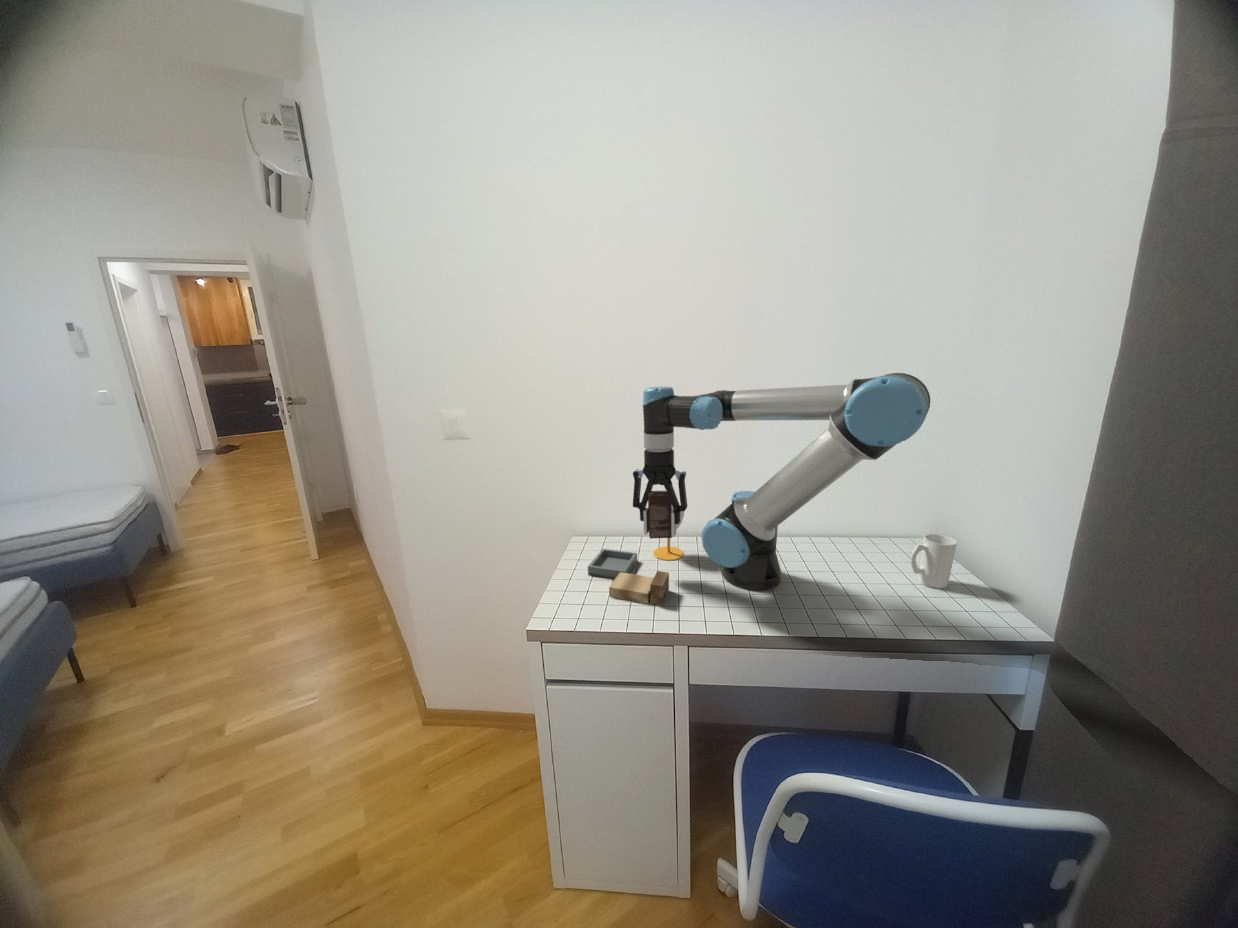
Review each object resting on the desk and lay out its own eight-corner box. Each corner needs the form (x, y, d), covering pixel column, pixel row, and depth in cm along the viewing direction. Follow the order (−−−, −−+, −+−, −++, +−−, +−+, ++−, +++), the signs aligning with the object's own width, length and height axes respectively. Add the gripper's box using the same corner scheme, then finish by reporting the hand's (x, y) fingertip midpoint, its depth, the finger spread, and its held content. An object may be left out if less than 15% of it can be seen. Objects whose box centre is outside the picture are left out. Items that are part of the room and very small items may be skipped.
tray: (637, 560, 129) (637, 553, 129) (625, 580, 119) (624, 571, 118) (602, 556, 133) (602, 548, 132) (588, 574, 122) (587, 566, 121)
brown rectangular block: (668, 590, 113) (668, 572, 112) (662, 604, 107) (662, 586, 106) (657, 588, 114) (657, 570, 113) (650, 602, 108) (650, 584, 107)
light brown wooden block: (656, 588, 115) (656, 577, 115) (647, 604, 108) (647, 593, 107) (620, 582, 119) (620, 572, 118) (609, 597, 111) (609, 586, 111)
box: (670, 532, 121) (670, 489, 118) (671, 538, 116) (672, 494, 113) (647, 532, 121) (647, 489, 118) (648, 539, 116) (648, 495, 114)
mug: (936, 575, 118) (943, 533, 115) (955, 588, 112) (963, 544, 109) (898, 576, 118) (905, 534, 115) (915, 590, 111) (923, 545, 108)
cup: (690, 555, 132) (691, 503, 128) (666, 563, 128) (667, 510, 124) (670, 544, 140) (670, 495, 136) (647, 552, 135) (647, 502, 131)
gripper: (700, 446, 113) (699, 531, 119) (626, 444, 119) (628, 525, 125) (695, 453, 106) (695, 542, 112) (617, 450, 113) (620, 535, 118)
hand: (660, 533), depth 118 cm, fingers closed on box, 7 cm apart
